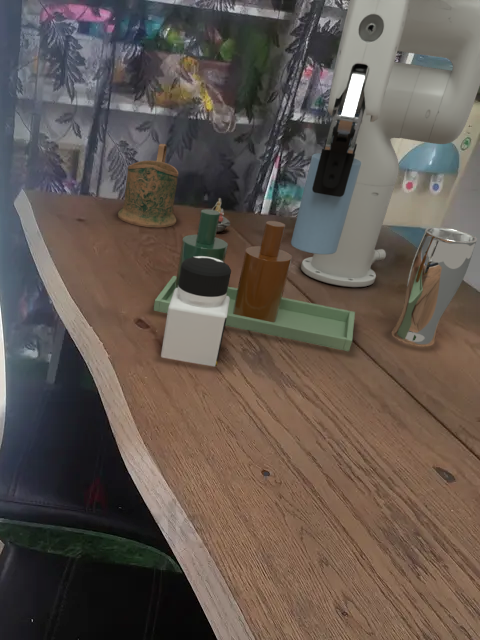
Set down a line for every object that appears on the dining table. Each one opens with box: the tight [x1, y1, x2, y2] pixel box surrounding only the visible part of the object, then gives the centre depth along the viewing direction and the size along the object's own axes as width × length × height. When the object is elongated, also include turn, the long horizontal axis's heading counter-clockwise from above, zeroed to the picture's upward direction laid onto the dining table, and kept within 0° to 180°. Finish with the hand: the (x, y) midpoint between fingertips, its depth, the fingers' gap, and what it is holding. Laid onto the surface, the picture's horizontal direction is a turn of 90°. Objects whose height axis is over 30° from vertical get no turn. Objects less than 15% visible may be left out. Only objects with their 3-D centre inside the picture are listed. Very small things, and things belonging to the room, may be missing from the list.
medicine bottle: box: [160, 256, 232, 367], centre depth 92 cm, size 7×7×12 cm
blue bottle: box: [290, 140, 361, 255], centre depth 77 cm, size 5×5×12 cm
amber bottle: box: [233, 220, 293, 322], centre depth 103 cm, size 6×6×13 cm
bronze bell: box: [117, 143, 179, 228], centre depth 144 cm, size 12×18×12 cm, turn 167°
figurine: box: [211, 197, 231, 233], centre depth 140 cm, size 5×4×6 cm
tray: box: [153, 275, 356, 352], centre depth 107 cm, size 28×12×2 cm, turn 72°
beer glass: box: [391, 226, 478, 347], centre depth 102 cm, size 7×7×15 cm
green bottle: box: [175, 208, 229, 289], centre depth 105 cm, size 6×6×13 cm
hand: (329, 186), depth 77 cm, fingers closed on blue bottle, 5 cm apart
